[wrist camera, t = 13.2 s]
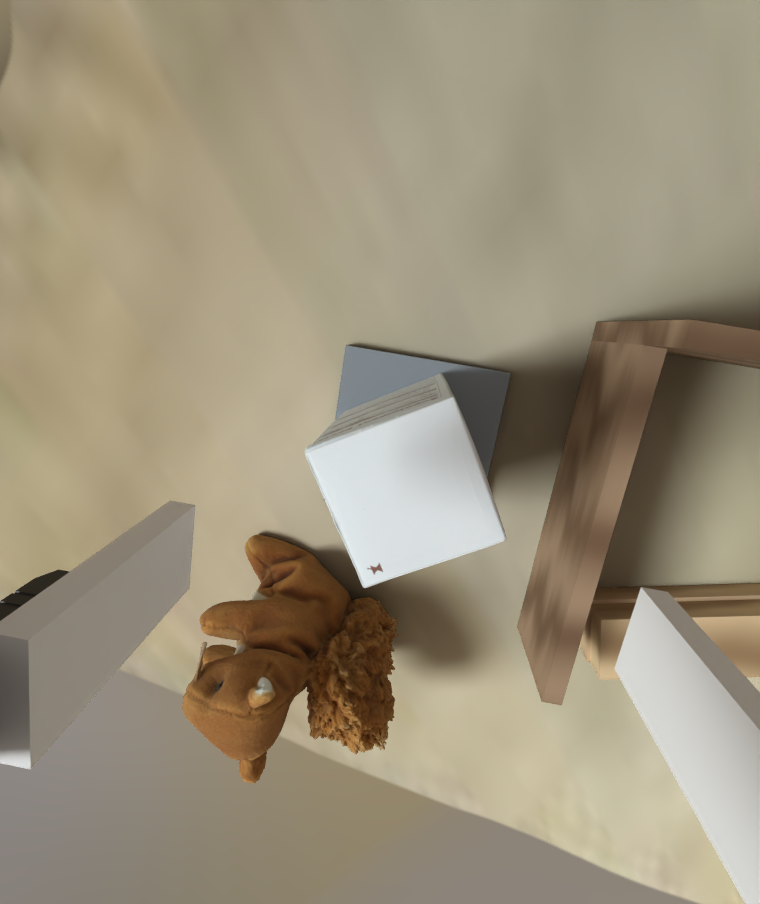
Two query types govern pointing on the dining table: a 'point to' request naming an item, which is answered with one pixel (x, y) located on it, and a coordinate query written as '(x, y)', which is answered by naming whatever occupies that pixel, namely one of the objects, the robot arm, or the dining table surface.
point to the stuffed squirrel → (292, 660)
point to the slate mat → (390, 372)
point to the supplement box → (405, 482)
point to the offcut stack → (711, 606)
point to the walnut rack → (603, 477)
